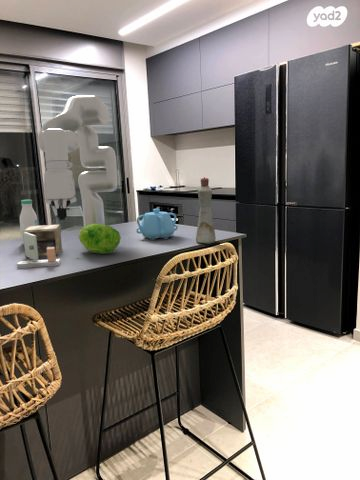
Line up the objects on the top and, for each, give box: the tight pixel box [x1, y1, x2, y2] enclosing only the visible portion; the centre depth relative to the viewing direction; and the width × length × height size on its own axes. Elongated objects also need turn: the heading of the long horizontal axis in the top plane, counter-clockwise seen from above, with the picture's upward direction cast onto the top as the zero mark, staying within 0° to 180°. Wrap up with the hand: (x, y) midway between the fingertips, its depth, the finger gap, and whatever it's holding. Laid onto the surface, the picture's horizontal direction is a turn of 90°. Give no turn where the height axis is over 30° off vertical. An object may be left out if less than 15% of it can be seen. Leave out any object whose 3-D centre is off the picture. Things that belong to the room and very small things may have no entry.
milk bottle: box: [19, 199, 39, 245], centre depth 177 cm, size 8×8×20 cm
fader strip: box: [16, 258, 61, 269], centre depth 139 cm, size 14×4×2 cm, turn 99°
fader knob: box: [46, 247, 57, 261], centre depth 139 cm, size 2×3×5 cm
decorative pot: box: [136, 208, 179, 241], centre depth 182 cm, size 16×16×14 cm
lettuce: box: [78, 224, 122, 255], centre depth 154 cm, size 13×23×12 cm, turn 44°
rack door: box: [23, 231, 40, 261], centre depth 147 cm, size 12×2×10 cm, turn 39°
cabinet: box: [24, 224, 63, 257], centre depth 158 cm, size 12×10×10 cm
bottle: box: [195, 176, 217, 245], centre depth 166 cm, size 9×9×28 cm
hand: (62, 219), depth 137 cm, fingers closed
